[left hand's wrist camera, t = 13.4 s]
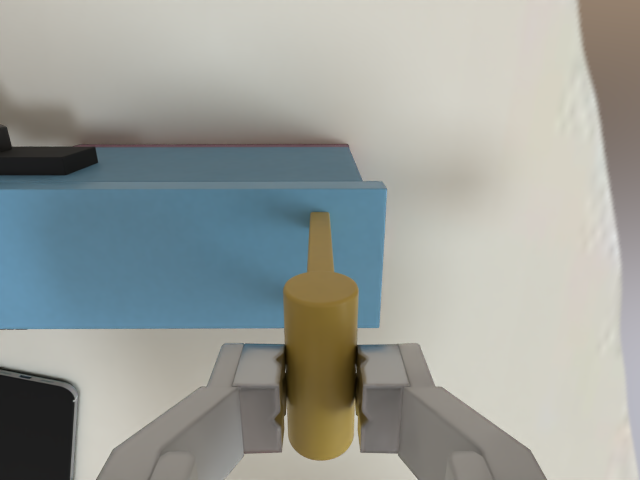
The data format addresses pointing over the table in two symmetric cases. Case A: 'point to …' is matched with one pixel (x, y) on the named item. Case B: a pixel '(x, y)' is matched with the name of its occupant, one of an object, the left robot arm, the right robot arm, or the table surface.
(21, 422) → the smartphone
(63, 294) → the lid
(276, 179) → the chest
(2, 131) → the right robot arm
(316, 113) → the table surface
